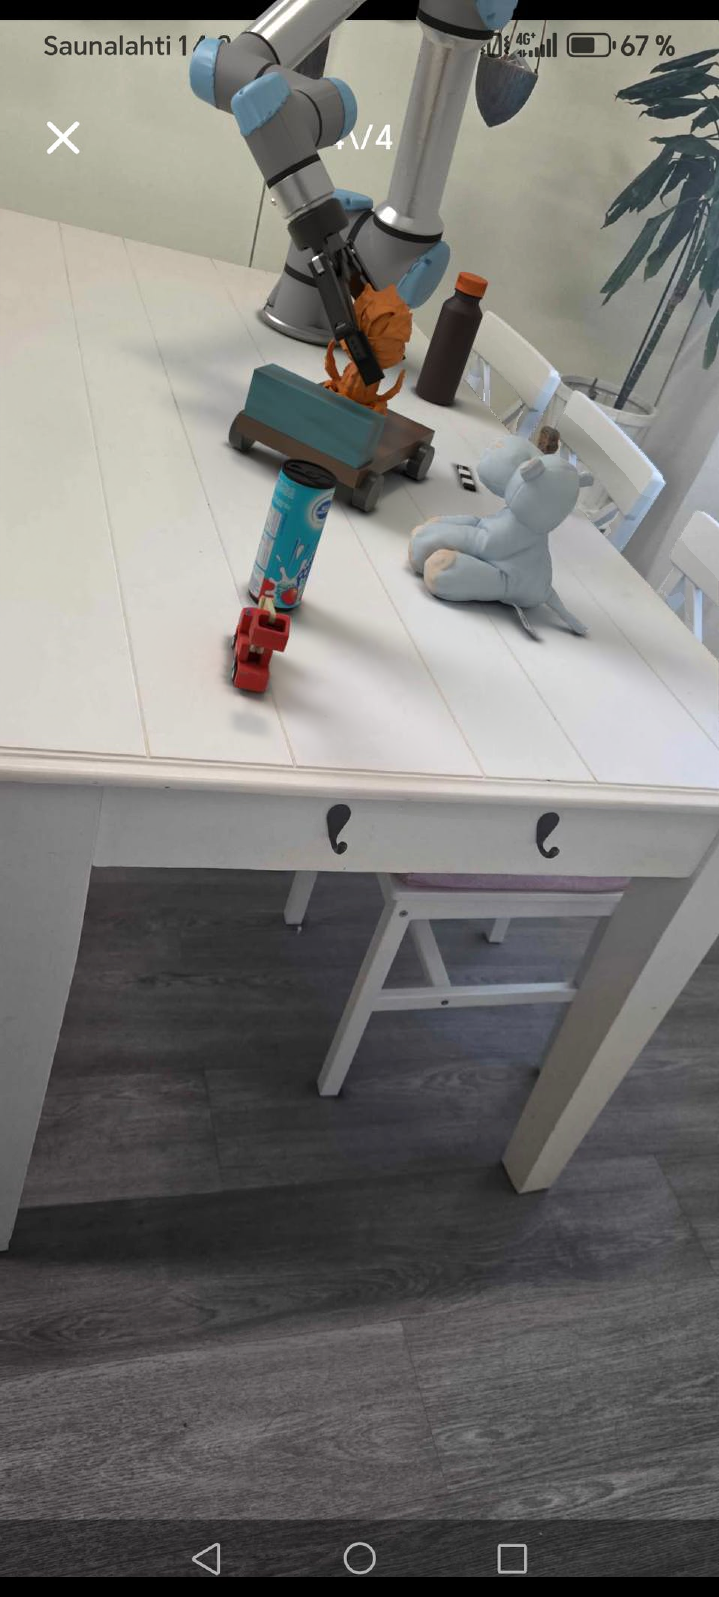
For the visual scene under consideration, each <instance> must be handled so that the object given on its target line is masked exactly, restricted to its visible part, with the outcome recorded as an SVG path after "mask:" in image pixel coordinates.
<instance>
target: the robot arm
mask: <svg viewBox="0 0 719 1597" xmlns="http://www.w3.org/2000/svg"><path fill="white" fill-rule="evenodd" d="M365 2H366V0H276V1H274V2H273V3H272V4H271V5H270V6H269V7H268V8H267V9H266V10H265V11H264V12H262V14H260V15H259V16H258V17H257V18H256V19H254V21H253V22H252V23H250V24H249V25H248V26H247V27H246V28H245V29H243V31H242V32H241V33H240V34H239V35H237V36H236V37H235V38H233V40H232V41H231V42H227V41H226V40H225V39H223V38H221V39H218V38H215V37H208V38H207V37H206V38H204V39H202V40H201V41H200V42H199V43H198V44H197V45H196V48H195V49H194V51H193V53H192V56H191V59H190V62H189V69H188V77H189V86H190V89H191V91H192V93H193V94H194V95H195V97H197V98H198V99H199V100H200V101H203V102H204V103H206V104H208V105H210V106H212V107H214V108H215V109H216V110H220V111H222V112H225V113H227V114H229V115H231V116H234V119H235V121H236V123H237V126H238V128H239V133H240V135H241V136H242V138H243V140H244V141H245V143H246V145H247V147H248V149H249V151H250V153H251V155H252V157H253V159H254V161H255V163H256V165H257V167H258V170H259V172H260V173H261V175H262V177H263V179H264V182H265V184H266V186H267V189H268V192H270V195H271V197H272V198H271V199H270V204H271V205H272V206H273V207H276V208H277V209H278V212H279V213H280V216H281V218H282V219H283V220H288V221H289V223H288V224H286V225H287V227H286V230H287V232H288V234H289V236H290V242H289V246H288V250H287V254H286V259H285V263H284V266H283V270H282V273H281V276H280V277H279V279H278V280H277V282H276V284H275V285H274V287H273V289H272V290H271V292H270V294H269V295H268V296H267V297H266V298H265V299H264V301H263V303H262V304H261V306H262V310H261V319H262V320H263V321H264V323H266V324H267V325H268V326H269V327H271V328H273V329H274V330H276V331H278V332H280V333H281V334H284V335H286V336H289V337H291V338H293V339H296V340H300V341H303V342H307V343H310V344H314V345H320V346H327V347H328V346H329V343H330V342H331V341H332V339H334V341H335V346H341V343H339V341H341V340H343V339H344V341H345V344H346V346H347V348H348V350H349V352H350V354H351V356H352V358H353V360H354V363H355V365H356V367H357V369H358V371H359V373H360V375H361V377H362V380H363V382H364V384H365V386H366V387H368V386H370V385H372V384H374V383H376V382H378V381H380V380H381V381H382V380H384V379H386V375H385V372H384V370H382V369H381V366H380V364H379V362H378V360H377V358H376V356H375V353H374V351H373V349H372V347H371V345H370V343H369V341H368V338H367V336H366V334H365V332H364V330H361V331H360V329H359V325H358V321H357V317H356V313H355V309H354V305H353V304H354V302H355V301H356V300H357V298H358V297H359V296H360V295H361V293H362V292H363V291H364V290H365V286H366V284H367V283H369V284H370V285H371V287H372V289H373V290H374V291H376V292H379V291H380V290H382V289H386V288H387V287H389V286H390V285H392V284H395V287H396V288H397V289H396V290H397V295H399V297H400V298H401V299H402V301H405V304H406V306H408V307H410V310H416V309H419V308H420V307H421V306H423V305H424V304H425V303H426V302H427V301H428V300H429V299H430V298H431V297H432V296H433V294H434V292H435V291H436V290H437V288H438V287H439V285H440V283H441V281H442V280H443V277H444V275H445V274H446V271H447V268H448V267H449V262H450V259H451V247H450V245H449V244H448V243H447V242H446V241H444V240H442V238H443V235H444V234H443V233H444V230H445V222H444V221H443V219H442V218H441V216H440V214H439V212H440V208H441V204H442V199H443V195H444V192H445V189H446V184H447V179H448V176H449V172H450V168H451V163H452V160H453V155H454V152H455V148H456V144H457V141H458V136H459V132H460V129H461V125H462V120H463V117H464V111H465V109H466V105H467V101H468V97H469V92H470V89H471V85H472V81H473V77H474V73H475V69H476V64H477V60H478V58H479V53H480V51H481V49H483V47H485V46H487V45H488V44H490V43H491V42H492V41H493V40H494V35H495V31H500V30H501V31H502V29H504V28H505V27H507V25H508V24H509V22H511V20H512V18H513V15H514V10H515V9H516V8H517V5H518V3H519V0H419V3H418V7H417V8H418V9H417V14H416V17H415V18H416V21H417V24H418V25H419V27H420V29H421V32H422V39H421V43H420V47H419V52H418V56H417V61H416V65H415V70H414V74H413V79H412V83H411V87H410V93H409V97H408V100H407V101H408V102H407V107H406V111H405V115H404V118H403V119H404V120H403V124H402V129H401V133H400V137H399V142H398V147H397V150H396V155H395V160H394V165H393V169H392V174H391V179H390V184H389V186H388V192H387V196H386V199H385V200H383V201H382V202H380V203H378V204H377V205H376V206H375V207H374V200H373V198H371V197H369V196H367V195H366V194H363V193H359V192H355V191H352V190H348V189H344V188H337V187H335V186H334V184H333V182H332V180H331V177H330V174H329V173H328V171H327V168H326V166H325V165H324V162H323V160H322V158H321V156H320V154H319V152H318V151H319V150H322V149H326V148H328V147H334V146H335V145H337V143H338V142H340V141H341V140H344V139H345V138H347V137H348V136H349V135H350V134H351V133H352V132H353V130H354V129H355V126H356V123H357V120H358V102H357V99H356V97H355V93H354V92H353V90H352V88H351V87H350V86H349V84H347V83H346V82H345V81H344V80H343V79H341V78H337V77H334V76H333V77H331V76H330V77H327V76H326V77H320V78H318V79H313V78H312V77H308V76H306V75H304V74H303V73H299V72H297V71H295V70H294V69H295V68H296V67H297V66H298V65H300V63H302V61H304V59H306V58H307V57H308V56H309V55H310V54H311V53H312V52H313V51H314V50H315V49H317V47H319V45H320V44H322V43H323V42H324V41H325V40H326V39H327V38H328V37H329V36H330V35H331V34H332V33H333V32H334V31H335V30H336V29H338V27H339V26H341V25H342V23H344V22H345V21H346V19H348V18H349V17H350V16H351V15H352V14H353V13H354V12H355V11H356V10H357V9H358V8H359V7H360V6H361V5H362V4H364V3H365ZM373 209H374V210H373ZM353 300H354V301H353ZM358 331H359V332H358ZM335 346H334V347H335ZM406 359H407V357H406V354H404V356H403V360H402V362H403V361H405V360H406Z"/></svg>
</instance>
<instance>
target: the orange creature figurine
mask: <svg viewBox="0 0 719 1597" xmlns="http://www.w3.org/2000/svg"><path fill="white" fill-rule="evenodd" d="M396 289H397V288H396V287H395V284H392V285H390V286H389V287H387V288H386V289H382V290H380V291H379V292H376V291H374V290H373V289H372V287H371V285H370V284H369V283H367V284H366V286H365V290H364V291H363V292H362V293H361V295H360V296H359V297H358V298H357V300H356V301H355V300H354V301H353V305H354V309H355V313H356V317H357V321H358V325H359V329H360V331H361V330H364V332H365V334H366V336H367V338H368V341H369V343H370V345H371V347H372V349H373V351H374V353H375V356H376V358H377V360H378V362H379V364H380V366H381V369H382V371H384V370H388V369H390V368H392V367H396V366H397V365H398V364H399V363H402V362H403V361H404V360H403V356H404V355H405V352H406V343H409V342H410V340H411V335H412V333H413V331H412V330H413V312H410V310H411V309H410V307H408V306H406V304H405V301H402V299H401V298H400V297H399V295H397V290H396ZM358 332H359V331H358ZM339 343H341V345H340V346H341V349H342V351H343V352H345V353H346V355H347V358H348V359H350V362H349V363H348V364H347V365H346V366H345V367H344V369H343V371H342V375H340V373H339V371H338V368H337V365H336V359H335V356H334V351H335V341H334V339H332V341H331V342H330V343H329V346H327V349H326V354H325V356H324V370H325V371H326V374H327V375H328V376H329V378H330V379H326V380H325V381H326V383H325V384H324V386H323V387H324V388H327V389H329V390H331V391H333V392H335V393H337V394H339V395H341V396H344V397H346V398H348V399H350V400H352V401H354V402H356V403H358V404H360V405H363V406H365V407H367V408H369V409H371V410H373V411H375V412H377V413H379V414H382V415H384V416H386V415H387V411H386V410H387V408H388V406H389V404H388V401H391V400H392V399H393V398H394V397H395V396H396V395H398V394H399V393H400V391H401V389H402V387H403V383H404V379H405V375H406V369H405V368H404V369H401V370H400V372H399V374H398V377H397V379H396V382H395V384H394V385H393V386H392V387H391V388H390V389H388V390H387V391H385V392H384V393H383V394H378V393H377V392H378V391H379V389H380V384H381V382H382V380H380V381H378V382H376V383H374V384H372V385H370V386H368V387H366V386H365V384H364V382H363V380H362V377H361V375H360V373H359V371H358V369H357V367H356V365H355V363H354V360H353V358H352V356H351V354H350V352H349V350H348V348H347V346H346V344H345V341H344V339H343V340H341V341H339ZM402 360H403V361H402ZM385 421H386V420H385Z"/></svg>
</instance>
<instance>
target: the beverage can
mask: <svg viewBox="0 0 719 1597" xmlns="http://www.w3.org/2000/svg"><path fill="white" fill-rule="evenodd" d="M276 480H277V481H276V483H275V487H274V490H273V494H272V498H271V501H270V505H269V508H268V512H267V515H266V519H265V522H264V527H263V529H262V530H263V531H262V534H261V537H260V540H259V545H258V548H257V552H256V555H255V559H254V563H253V567H252V572H251V574H250V577H249V581H248V585H247V588H248V595H249V597H250V598H251V599H252V601H254V602H255V603H256V604H257V605H258V604H259V600H260V598H261V596H265V597H268V598H274V599H275V601H274V609H275V612H289V611H294V610H295V609H296V608H297V607H298V606H299V605H300V604H301V601H302V598H303V595H304V591H305V588H306V585H307V582H308V579H309V575H310V572H311V569H312V566H313V563H314V560H315V556H316V553H317V550H318V546H319V543H320V540H321V537H322V534H323V531H324V527H325V524H326V521H327V518H328V514H329V511H330V507H331V505H332V501H333V498H334V495H335V491H336V487H337V485H338V482H339V481H338V480H337V477H336V476H335V475H334V474H333V473H332V472H331V471H330V470H328V469H326V468H325V467H323V466H321V465H318V464H316V463H313V462H310V461H306V460H300V459H292V458H290V459H286V460H284V461H282V463H281V465H280V470H279V473H278V476H277V479H276Z"/></svg>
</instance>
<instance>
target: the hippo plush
mask: <svg viewBox="0 0 719 1597" xmlns="http://www.w3.org/2000/svg"><path fill="white" fill-rule="evenodd" d="M476 473H477V477H478V480H479V482H480V483H481V484H482V485H484V486H485V488H486V489H487V490H488V491H489V492H490V493H492V494H493V495H494V496H496V497H498V498H501V499H504V503H505V505H506V506H505V507H504V508H502V509H501V510H500V511H499V513H497V515H488V516H486V517H482V518H478V517H476V516H473V515H468V514H458V515H457V514H455V515H445V516H442V515H439V514H438V515H437V516H433V517H431V518H429V519H426V521H425V522H424V523H423V524H419V525H416V526H415V527H414V528H413V529H412V530H411V533H410V537H409V542H408V547H407V557H408V561H409V564H410V565H411V567H412V568H413V570H414V571H416V572H417V573H419V574H421V575H423V582H424V584H425V587H426V589H427V590H428V591H429V593H430V594H431V595H433V596H436V597H437V598H441V599H443V600H446V601H449V602H450V601H451V602H470V601H480V602H487V601H489V602H490V601H491V602H493V601H498V602H500V603H502V604H505V605H509V606H512V607H514V608H516V611H517V614H518V616H519V618H520V621H521V622H522V625H523V627H524V628H525V629H526V630H527V631H528V632H529V634H531V635H532V636H533V637H534V639H536V640H537V639H539V638H538V636H537V634H536V632H535V631H534V629H532V628H531V626H530V623H529V622H528V620H527V618H526V616H525V615H524V612H523V610H522V608H535V607H539V606H540V605H543V604H545V605H547V607H549V608H550V609H551V611H553V612H554V613H555V614H556V615H557V616H558V617H559V618H560V619H561V620H562V621H563V622H564V623H566V624H567V626H568V627H569V628H571V629H572V630H573V631H574V632H575V633H577V634H578V635H585V634H586V633H587V631H588V630H589V628H588V627H587V626H586V625H585V624H584V623H582V622H581V621H580V620H579V619H578V618H577V617H576V616H575V615H574V614H572V612H570V611H569V610H568V609H567V608H566V607H565V604H564V603H563V602H562V600H561V598H560V597H559V596H560V595H559V594H558V592H557V591H556V589H555V588H554V587H553V586H552V582H553V563H552V562H553V561H552V555H551V552H550V548H549V534H550V533H552V532H553V531H555V529H558V527H559V526H560V525H562V523H563V522H564V521H565V520H566V519H567V518H568V517H569V515H570V514H571V513H572V512H573V510H574V509H575V507H576V504H577V503H578V500H579V495H580V492H581V488H587V487H592V486H593V485H594V483H595V476H594V474H593V473H592V472H590V471H588V470H585V471H581V472H578V469H577V468H576V466H575V465H574V464H572V463H571V462H570V461H568V460H566V459H564V458H563V457H561V456H559V455H555V454H547V455H545V454H544V453H543V452H542V451H541V450H540V449H539V448H537V445H535V444H534V443H533V442H531V441H530V440H528V439H526V438H525V437H522V436H519V435H516V434H506V435H504V436H501V437H500V438H497V439H495V440H493V441H492V442H491V443H490V444H489V445H487V446H486V448H485V450H484V452H483V453H482V456H481V457H480V459H479V461H478V463H477V465H476Z"/></svg>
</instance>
